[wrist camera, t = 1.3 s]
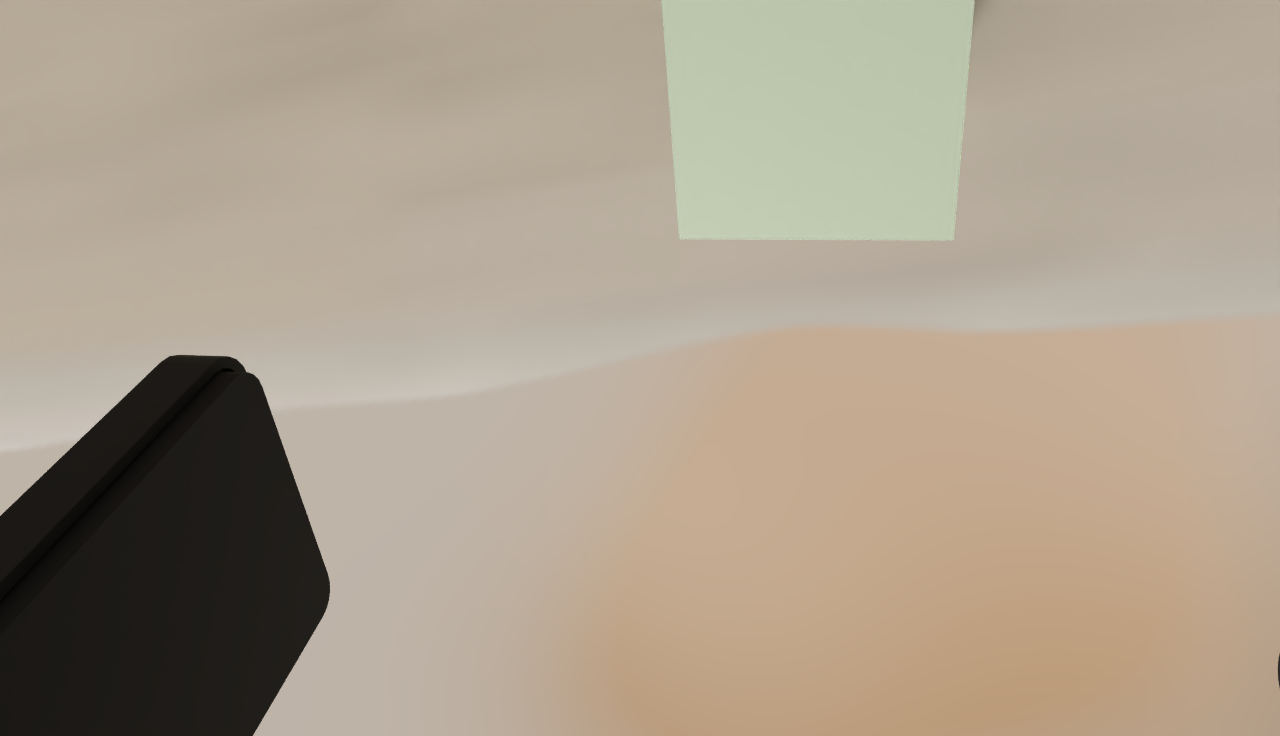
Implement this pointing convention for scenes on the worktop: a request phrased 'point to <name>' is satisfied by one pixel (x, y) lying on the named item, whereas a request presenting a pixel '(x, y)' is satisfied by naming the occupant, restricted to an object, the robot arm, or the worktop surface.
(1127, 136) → the worktop surface
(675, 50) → the sage block
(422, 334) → the worktop surface
